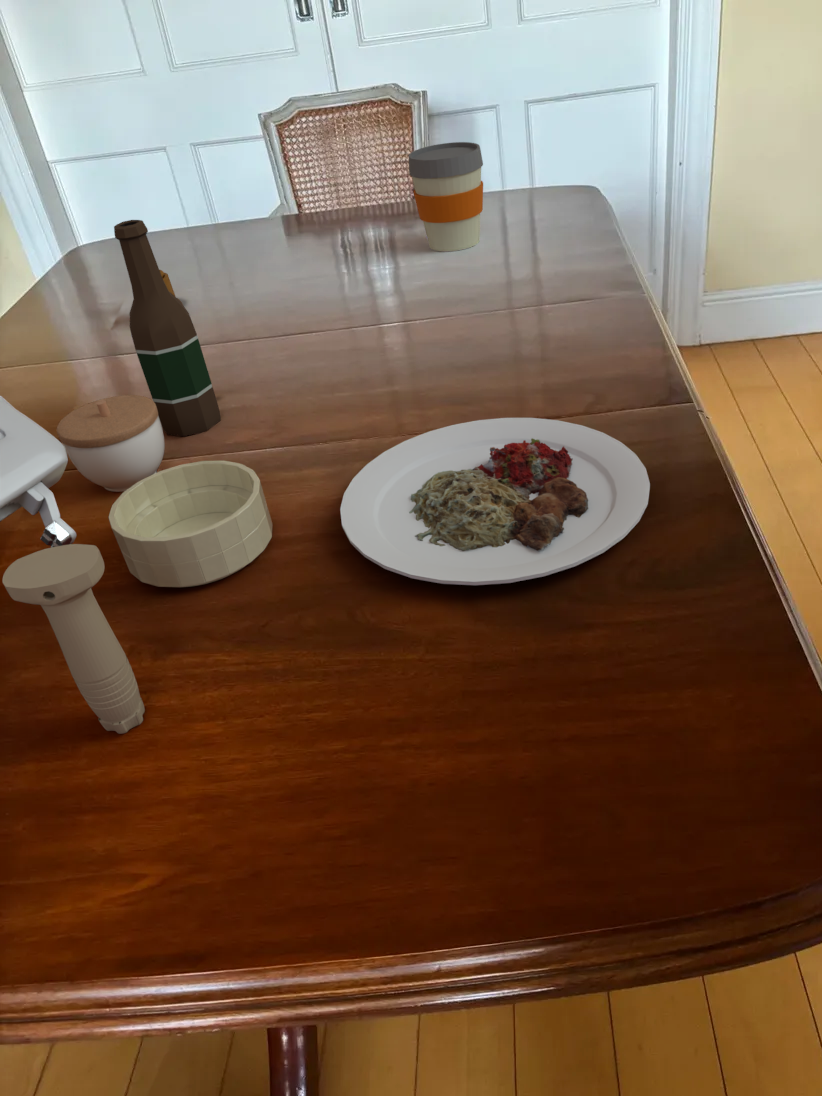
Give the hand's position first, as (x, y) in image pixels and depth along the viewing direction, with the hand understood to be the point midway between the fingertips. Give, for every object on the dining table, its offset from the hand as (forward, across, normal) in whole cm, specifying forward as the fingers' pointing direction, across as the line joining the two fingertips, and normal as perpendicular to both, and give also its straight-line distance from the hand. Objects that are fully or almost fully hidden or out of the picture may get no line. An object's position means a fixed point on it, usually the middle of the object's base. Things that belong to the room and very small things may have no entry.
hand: (20, 581), depth 64 cm
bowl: (+5, -21, -12) cm, 25 cm away
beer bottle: (-9, -44, -27) cm, 52 cm away
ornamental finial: (-30, -74, -48) cm, 94 cm away
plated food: (+23, -36, +5) cm, 43 cm away
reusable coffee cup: (-6, -114, -25) cm, 117 cm away
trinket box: (-7, -31, -26) cm, 41 cm away
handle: (+12, 0, -6) cm, 14 cm away
